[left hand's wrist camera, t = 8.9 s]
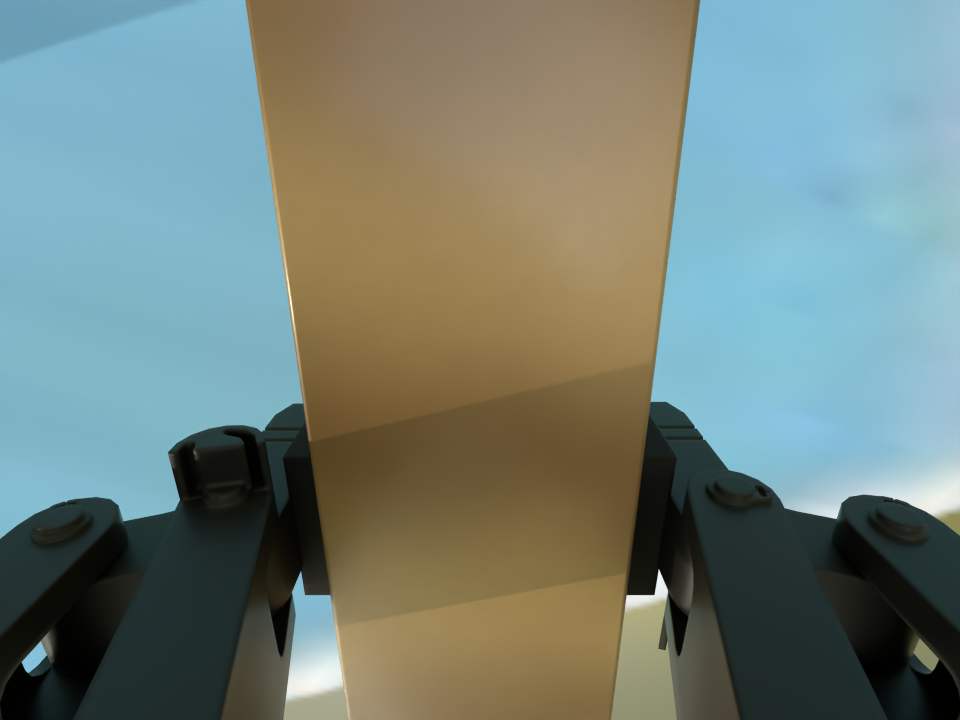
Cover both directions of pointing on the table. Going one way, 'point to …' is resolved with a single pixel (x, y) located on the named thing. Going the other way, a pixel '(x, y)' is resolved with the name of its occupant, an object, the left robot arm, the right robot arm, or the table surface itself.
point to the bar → (475, 327)
